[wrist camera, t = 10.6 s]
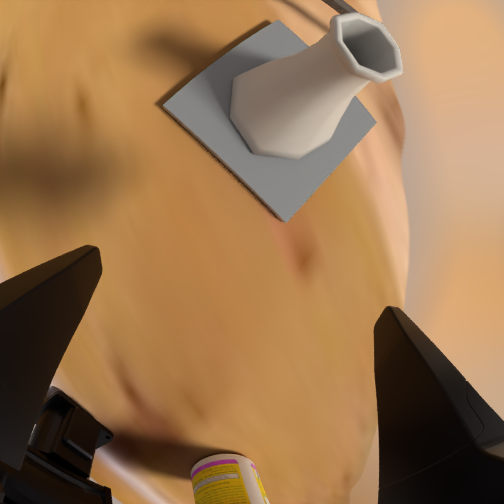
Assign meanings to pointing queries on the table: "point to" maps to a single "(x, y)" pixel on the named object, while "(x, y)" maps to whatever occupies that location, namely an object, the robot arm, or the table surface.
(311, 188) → the slate coaster
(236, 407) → the table surface
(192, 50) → the table surface
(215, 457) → the supplement bottle
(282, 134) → the flask
